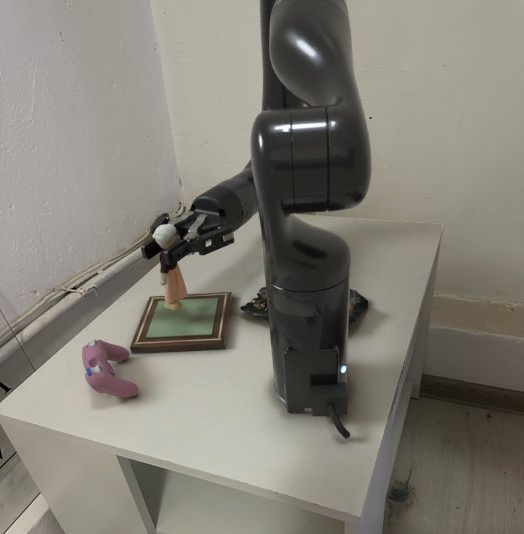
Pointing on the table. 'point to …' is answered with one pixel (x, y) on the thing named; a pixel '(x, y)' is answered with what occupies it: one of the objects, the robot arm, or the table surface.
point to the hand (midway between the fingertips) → (155, 255)
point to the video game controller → (106, 369)
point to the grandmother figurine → (170, 269)
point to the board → (184, 324)
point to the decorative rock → (261, 309)
